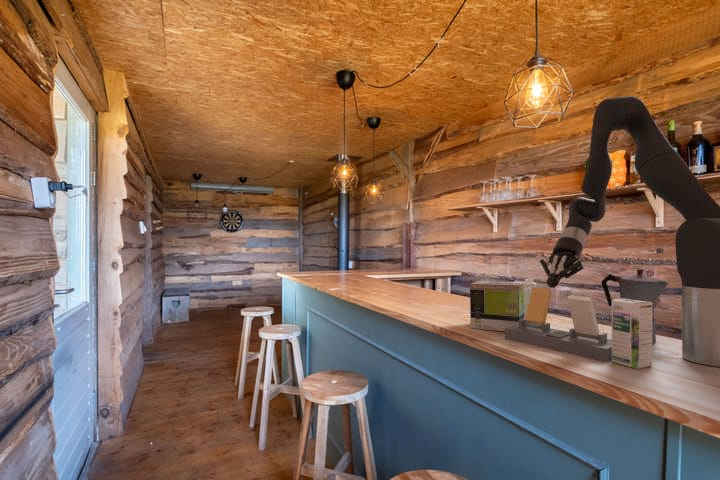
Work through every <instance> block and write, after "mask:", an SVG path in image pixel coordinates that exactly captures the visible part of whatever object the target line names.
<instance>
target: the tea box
mask: <svg viewBox="0 0 720 480" xmlns="http://www.w3.org/2000/svg"><path fill="white" fill-rule="evenodd" d="M519 282H520V281H485V280H476V281H474V282H471V283H469V304H470V305H469V306H470V307H469V308H470V309H469V310H470V311H469V312H470V315H469V316H470V317H469V318H470V328H471V329H477V330H487V331H497V332H505V328H508V327H512V326H516V325H519V320H522V319H524V288H525V287H524V284H523V283H519Z"/></svg>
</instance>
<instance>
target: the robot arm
mask: <svg viewBox="0 0 720 480" xmlns="http://www.w3.org/2000/svg"><path fill="white" fill-rule="evenodd" d="M593 114H594V115H593V119H592V128H591V135H590V144H589V153H588V161H587V167H586V170H585V173H584V176H583V179H582V183H581V186H580V190H581V192H582V193H583V194H584V195H587V196H589V197H591V198H592V199H590V198H587V197H582V196H578V197H575V198H573V199H572V200H571V201H570V203H569V207H568V219H567V223H566V225H565V227H564V228H563V231H562V232H561V233H560V235H559V237H558V239H557V241H556V243H555V246H554V247H553V249H552V254H550V256H549V257H548V258H547V259H545V260H544V259H543V258H542V259H540V260H539V262H540V264H541V266H542V268H543V269H544V272H545V273H546V276H547V277H548V278H547V280H546V285H547V286H548V287H549V289H551V288H552V289H555V288H556V287H558V285H559V284H560V282H561V280H562V279H563V278H565V279H569V278H570V277H572V276H574V275H575V274H577V273H578V272H580V271H583V269H584V264H583V263H582V261H581V260H579V259H580V257H581V255H582V252H583V250H584V248H585V246H586V244H587V243H586V242H587V238H588V237H589V234H590V232H591V230H592V222H593V223H597V222H598V223H599V222H600V221H601V220H602V219H603V218H604V217H605V215H606V193H607V188H608V187H609V183H610V180H611V176H612V174H613V164H612V160H611V157H610V153H609V140H610V138H611V135H612V133H613V132H615V131H625V132H627V133H628V135H630V137H631V139H632V140H633V142H634V143H635V153H634V168H635V170H636V173H637V174H638V176H639V177H640V179H641V180H642V181H643V183H644V184H645V186H646V187H647V188H648V189H649V190H650V191H651V192H652V193H653V194H655V196H657V197H658V198H660V199H661V200H663V201H664V202H666V203H667V204H668V205H670V206H671V207H673V208H674V209H675V210H676V211H677V212H679V214H681V216H682V217H683V218H684V220H685V221H683V222H682V223H681V224H680V226H679V227H678V228H677V231H676V234H675V239H674V240H675V242H674V243H675V259H676V261H675V262H676V269H677V274H678V275H679V277H680V279H681V353H682V355H681V356H682V357H681V358H683V359H684V360H687V361H690V362H693V363H695V364H700V365H705V366H711V367H717V368H719V367H720V205H719V203H717V201H716V200H715V199H714V198H713V197H712V196H711V194H709V192H708V191H707V189H705V187H704V186H703V184H702V183H701V181H700V180H699V179H698V178H697V176H696V175H695V174H694V173H693V171H692V170H691V169H690V168H689V165H688V164H687V163H686V161H684V159H683V158H682V156H681V155H680V154H679V153H678V152H677V151H676V149H675V148H674V147H673V146H672V145H671V143H670V142H669V141H668V139H667V137H666V136H665V135H664V133H663V132H662V131H661V129H660V128H659V127H658V124H656V121H655V120H654V118H653V116H652V115H651V113H650V111H649V110H648V108H647V106H646V103H644V102H643V100H641V99H640V98H639V97H637V96H632V95H627V96H619V97H609V98H605V99H603V100H602V101H600V102H599V103H598V105H597V106H596V109H595V111H594V113H593ZM550 267H551V268H550Z"/></svg>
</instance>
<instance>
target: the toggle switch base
mask: <svg viewBox="0 0 720 480" xmlns="http://www.w3.org/2000/svg"><path fill="white" fill-rule="evenodd" d="M525 321H526V320H525V319H522V320H519V325H516V326H512V327H508V328H505V331H504V340H509V341H513V342H517V343H518V342H519V343H522V344H526V345H530V346H535V347H540V348H544V349H548V350H553V351H556V352H557V351H558V352H561V353H566V354H570V355H574V356H579V357H583V358H588V359H592V360H596V361H601V362H605V363H607V362H610V361H612V338H611V339H610V338H608V333H606V332H602V333H599V340H595V339H590V338H585V337H579V336H576V332H575V328H574V327H572V328H570V329H569V331H568V330H567V331H566V330H561V329H557V328H556V329H554V328H551V323H549V322H545V324H542V329H537V328H532V327H527V326H524V322H525Z"/></svg>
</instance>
